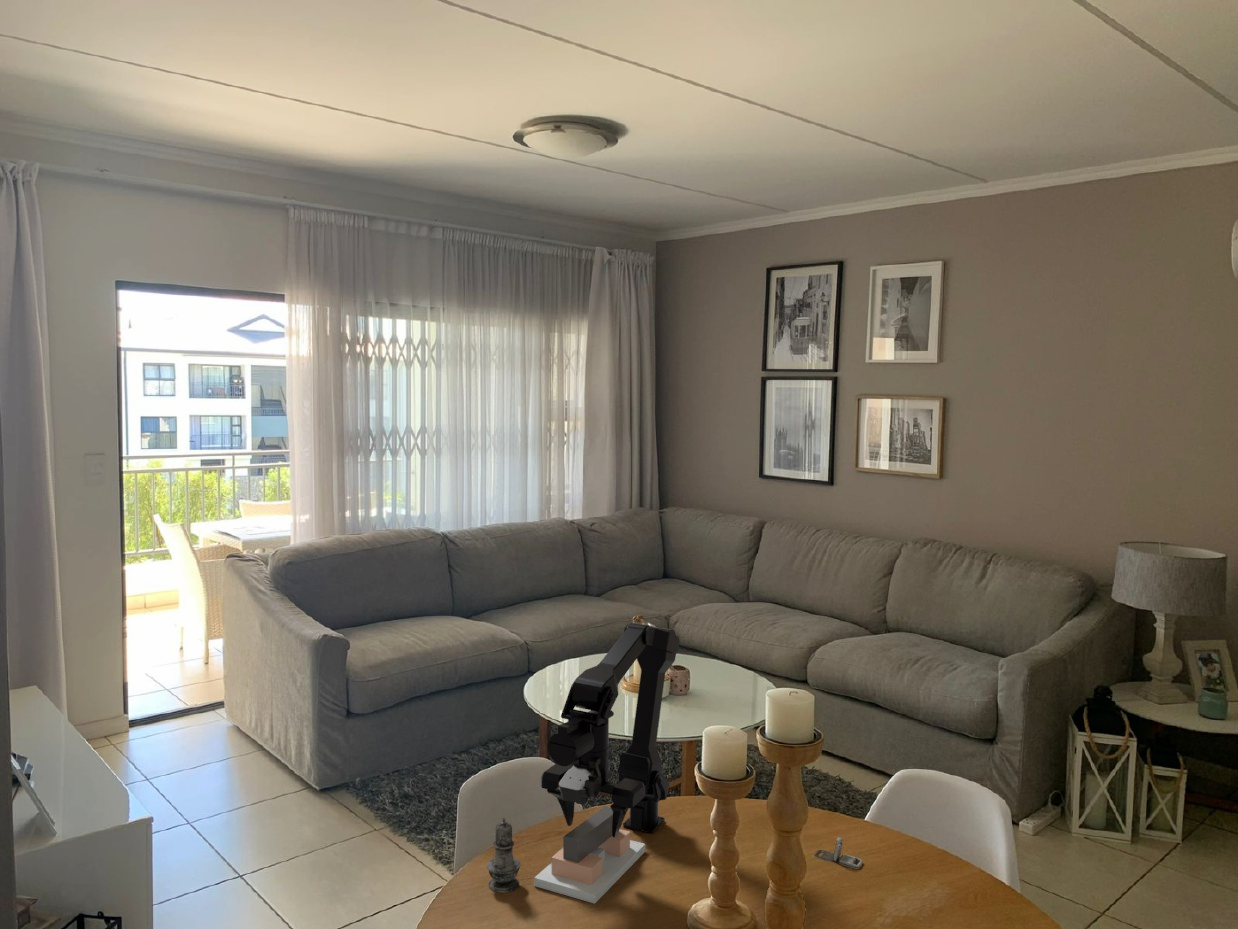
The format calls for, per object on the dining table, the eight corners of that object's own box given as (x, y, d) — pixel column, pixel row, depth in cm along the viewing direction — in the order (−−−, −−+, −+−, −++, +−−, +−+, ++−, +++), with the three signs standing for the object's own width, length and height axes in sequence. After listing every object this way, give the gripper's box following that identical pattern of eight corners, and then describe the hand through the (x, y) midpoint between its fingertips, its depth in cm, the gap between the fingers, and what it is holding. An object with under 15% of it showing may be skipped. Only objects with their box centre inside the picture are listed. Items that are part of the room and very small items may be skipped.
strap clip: (863, 864, 168) (864, 842, 168) (858, 871, 165) (859, 848, 165) (819, 852, 172) (819, 830, 172) (813, 858, 170) (814, 836, 170)
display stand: (589, 837, 177) (589, 814, 176) (645, 851, 171) (645, 828, 171) (534, 886, 159) (534, 861, 158) (594, 903, 153) (594, 878, 153)
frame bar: (604, 826, 171) (605, 806, 171) (618, 830, 170) (618, 810, 170) (563, 858, 159) (563, 836, 159) (577, 863, 158) (577, 841, 158)
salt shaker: (514, 895, 156) (514, 827, 155) (482, 891, 157) (481, 824, 156) (525, 877, 162) (525, 812, 161) (493, 874, 163) (493, 809, 162)
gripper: (524, 752, 160) (524, 838, 162) (618, 773, 152) (617, 863, 153) (556, 732, 170) (556, 813, 171) (647, 750, 162) (646, 835, 163)
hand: (592, 830), depth 164 cm, fingers open, 9 cm apart
